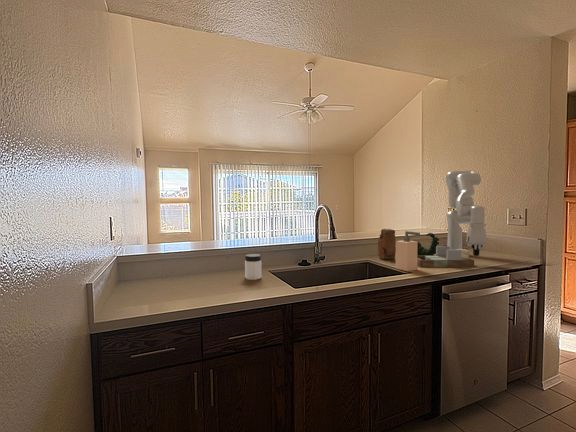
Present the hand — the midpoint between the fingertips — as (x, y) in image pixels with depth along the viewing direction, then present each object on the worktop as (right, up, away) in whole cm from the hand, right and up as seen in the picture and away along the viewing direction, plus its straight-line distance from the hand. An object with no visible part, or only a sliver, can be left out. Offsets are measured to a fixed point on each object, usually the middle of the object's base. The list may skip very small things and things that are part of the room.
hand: (476, 255), depth 199 cm
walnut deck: (-22, -5, 0) cm, 22 cm away
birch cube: (-8, -1, 0) cm, 8 cm away
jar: (-135, -8, -31) cm, 139 cm away
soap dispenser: (-47, -7, -14) cm, 49 cm away
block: (-50, -5, +19) cm, 54 cm away
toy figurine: (-25, -4, +22) cm, 34 cm away
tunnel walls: (-17, -1, 0) cm, 17 cm away
